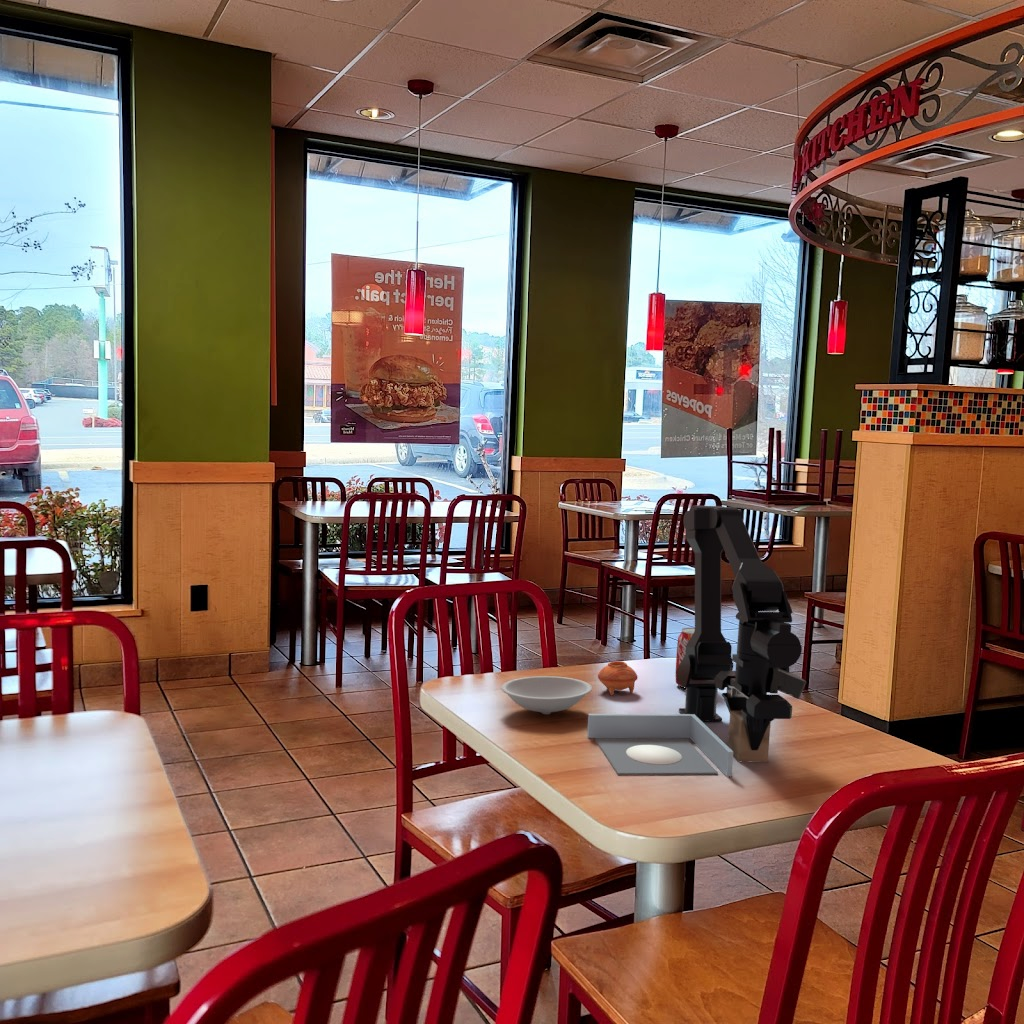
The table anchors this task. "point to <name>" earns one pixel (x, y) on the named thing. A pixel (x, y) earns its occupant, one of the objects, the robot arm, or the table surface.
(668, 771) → the mat
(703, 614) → the robot arm
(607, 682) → the pot
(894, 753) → the table surface
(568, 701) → the dish
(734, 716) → the walnut block
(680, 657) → the soda can
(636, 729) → the low wall
